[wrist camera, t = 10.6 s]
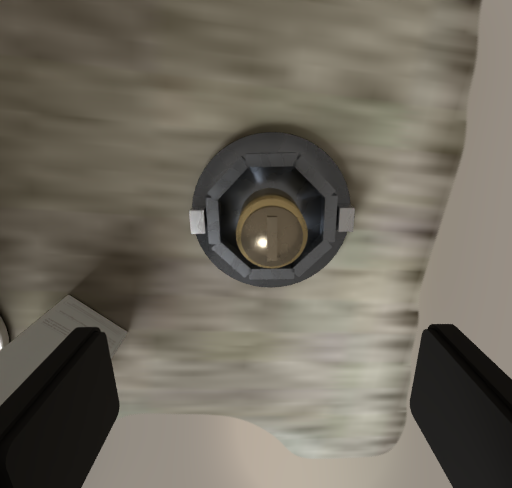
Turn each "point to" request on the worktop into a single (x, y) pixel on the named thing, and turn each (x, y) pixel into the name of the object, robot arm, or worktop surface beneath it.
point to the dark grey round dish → (280, 177)
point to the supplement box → (49, 341)
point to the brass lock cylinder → (271, 229)
